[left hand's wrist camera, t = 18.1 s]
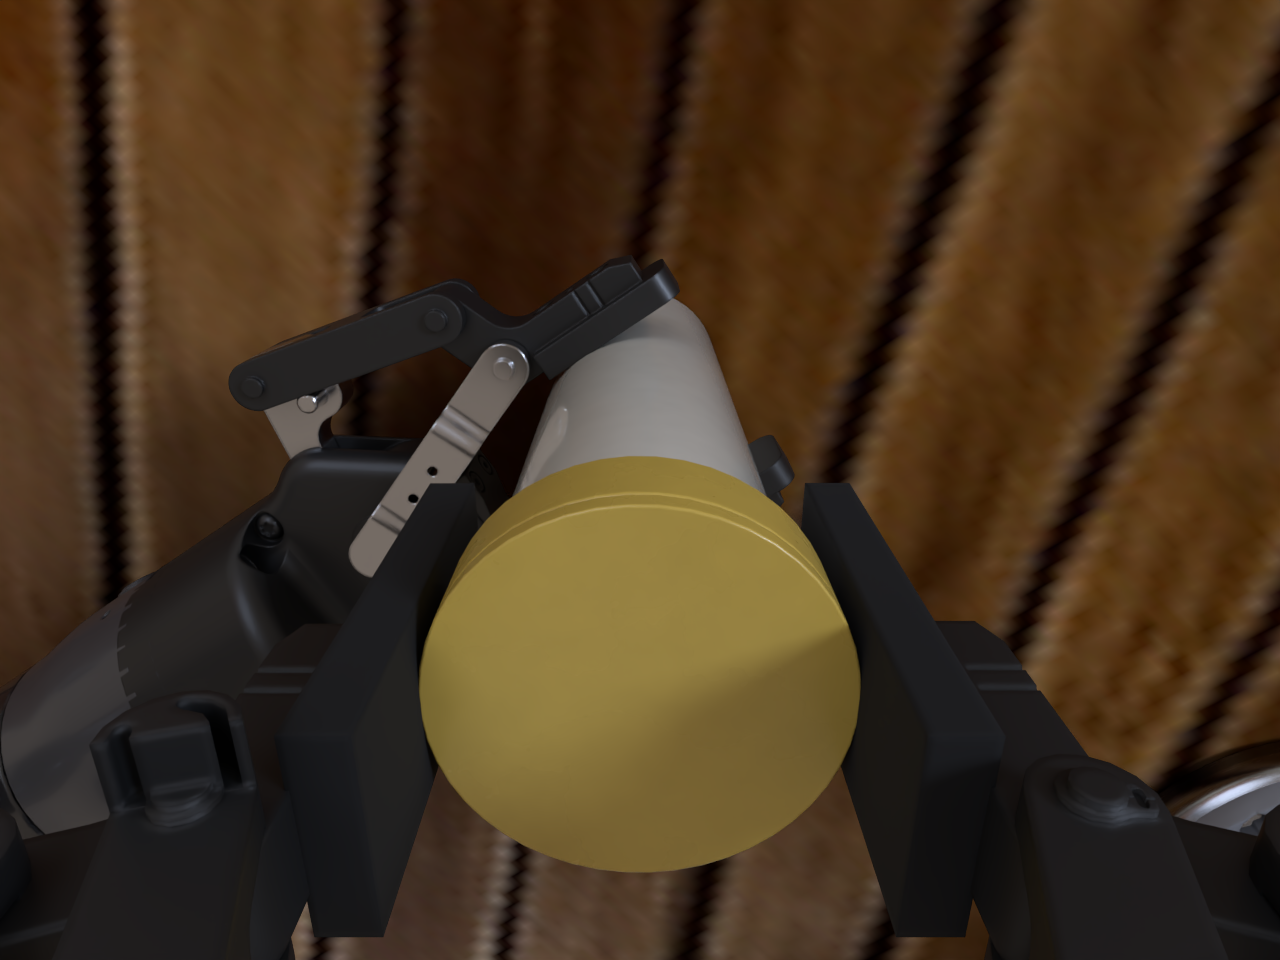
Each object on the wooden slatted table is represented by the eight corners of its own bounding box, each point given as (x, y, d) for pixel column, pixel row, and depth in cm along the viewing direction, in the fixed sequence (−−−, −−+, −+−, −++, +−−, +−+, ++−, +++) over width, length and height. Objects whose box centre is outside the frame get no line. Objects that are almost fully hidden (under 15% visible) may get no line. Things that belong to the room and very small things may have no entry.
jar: (703, 442, 28) (783, 818, 12) (560, 427, 28) (458, 791, 12) (724, 298, 26) (848, 526, 11) (571, 282, 26) (467, 488, 10)
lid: (389, 704, 13) (354, 783, 11) (544, 382, 11) (528, 424, 9) (714, 834, 14) (724, 924, 12) (909, 559, 12) (951, 624, 10)
